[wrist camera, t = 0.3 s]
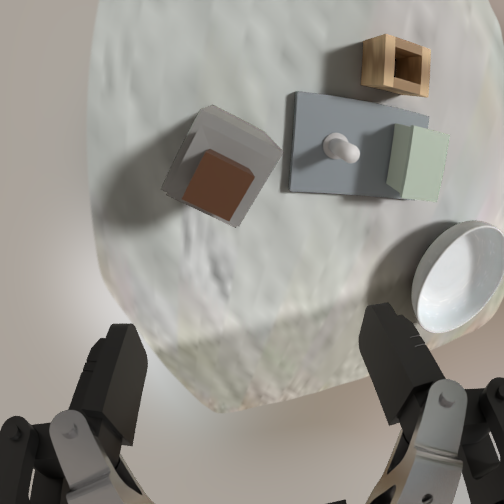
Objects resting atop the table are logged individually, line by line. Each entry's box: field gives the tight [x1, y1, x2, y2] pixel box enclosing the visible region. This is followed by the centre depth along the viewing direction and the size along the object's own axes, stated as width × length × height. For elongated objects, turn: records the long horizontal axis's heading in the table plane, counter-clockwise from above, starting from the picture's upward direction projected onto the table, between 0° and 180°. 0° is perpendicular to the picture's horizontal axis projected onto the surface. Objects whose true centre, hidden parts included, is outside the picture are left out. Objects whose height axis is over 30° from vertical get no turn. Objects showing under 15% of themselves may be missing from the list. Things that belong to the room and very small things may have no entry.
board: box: [289, 91, 429, 200], centre depth 31 cm, size 12×18×6 cm, turn 88°
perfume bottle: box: [161, 105, 284, 228], centre depth 25 cm, size 7×7×18 cm
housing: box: [386, 123, 450, 202], centre depth 31 cm, size 9×6×5 cm, turn 178°
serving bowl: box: [411, 221, 504, 333], centre depth 41 cm, size 21×21×7 cm
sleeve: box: [361, 34, 431, 97], centre depth 26 cm, size 6×6×6 cm
